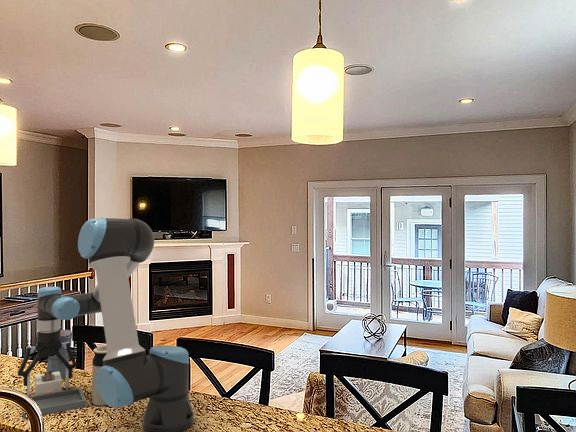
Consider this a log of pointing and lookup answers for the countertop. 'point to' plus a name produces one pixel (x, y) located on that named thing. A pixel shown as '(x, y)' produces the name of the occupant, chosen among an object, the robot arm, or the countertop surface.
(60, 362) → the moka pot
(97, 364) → the travel mug
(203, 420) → the countertop surface
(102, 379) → the robot arm
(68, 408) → the tray
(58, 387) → the white boxy piece
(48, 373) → the stake
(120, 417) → the countertop surface
